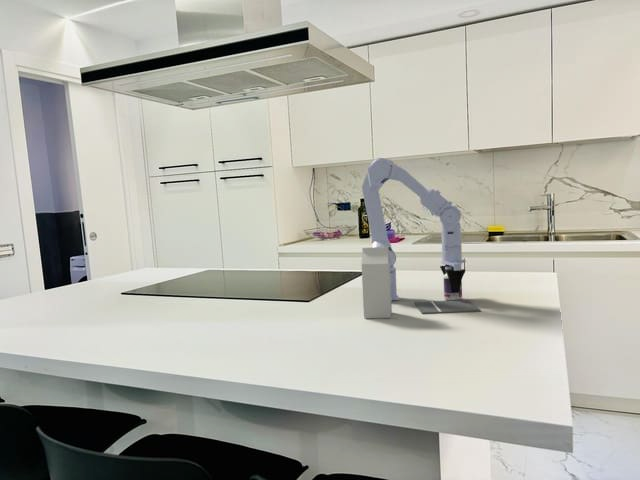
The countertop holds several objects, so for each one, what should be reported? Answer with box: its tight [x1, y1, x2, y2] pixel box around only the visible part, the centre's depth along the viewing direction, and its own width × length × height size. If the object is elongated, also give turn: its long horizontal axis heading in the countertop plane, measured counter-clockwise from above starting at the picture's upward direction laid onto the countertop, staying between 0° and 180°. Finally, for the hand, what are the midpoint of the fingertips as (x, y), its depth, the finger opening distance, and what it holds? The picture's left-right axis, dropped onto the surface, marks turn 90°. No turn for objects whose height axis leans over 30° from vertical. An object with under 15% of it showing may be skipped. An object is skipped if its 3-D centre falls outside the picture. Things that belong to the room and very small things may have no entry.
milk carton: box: [361, 246, 393, 319], centre depth 136 cm, size 7×7×19 cm
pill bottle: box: [442, 267, 463, 301], centre depth 151 cm, size 5×5×10 cm
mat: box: [414, 299, 482, 315], centre depth 142 cm, size 16×13×1 cm
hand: (452, 290), depth 151 cm, fingers open, 5 cm apart
